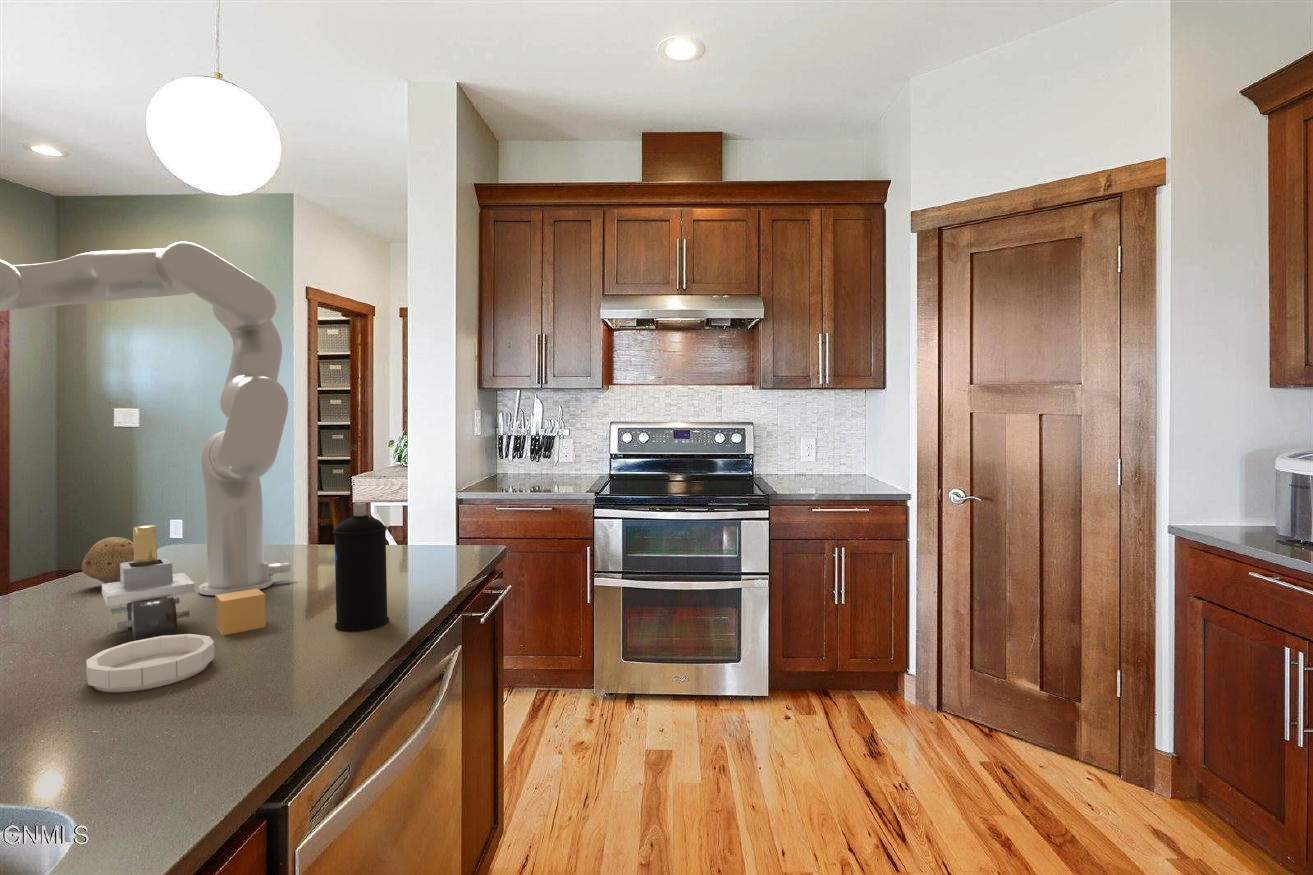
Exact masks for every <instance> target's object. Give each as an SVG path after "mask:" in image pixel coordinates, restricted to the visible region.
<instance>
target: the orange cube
mask: <svg viewBox="0 0 1313 875" xmlns="http://www.w3.org/2000/svg"><path fill="white" fill-rule="evenodd" d="M214 597H215V598H214V600H215V622H216V623H215V624H216V625H215V626H216V627H215V628H216V629H217V631H218V632H219V633H220V634H221V635H222V636H227V635H233V634H237V633H242V632H247V631H248V632H249V631H253V630H258V629H262V628H266V627H267V624H266V621H267V620H266V594H265V593H264V592H262V590H261V589H260V590H259V589H251V590H244V591H238V592H232V593H226V594H219V595H215V596H214Z"/></svg>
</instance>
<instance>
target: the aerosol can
mask: <svg viewBox="0 0 1313 875" xmlns="http://www.w3.org/2000/svg"><path fill="white" fill-rule="evenodd" d="M352 507H353V509H352V510H353V515H352V516H351V517H349V518H346V519H345V520H343V521H340V523H339V524H338V525H337V526H336V528H334V529H333V530H332V534H333V535H334V536H333V537H334V566H335V575H334V576H335V612H336V614H335V617H336V619H335V620H336V622H335V624H334V628H335V629H336V630H338V631H342V632H363V631H364V632H365V631H370V630H375V629H377V628H378V629H379V628H381V627H382V626H385V625H387V624H388V623H389V621H390V617H389V616H388V588H387V587H388V585H387V583H388V582H387V544H386V543H387V537H386V532H387V530H388V526H386V525H384V523H383V522H382V521H381V520H379V519H378V518H376V517H372V516H369V515H367V503H366V502H356V503H355V502H354V503H353V504H352Z"/></svg>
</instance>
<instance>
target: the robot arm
mask: <svg viewBox="0 0 1313 875" xmlns="http://www.w3.org/2000/svg"><path fill="white" fill-rule="evenodd" d="M189 294H194V295H196V296H197V297H199V298H200V299H202V300H204V301H205V302H207V303H208V304H210V305H212V311H213V315H214V317H215V319H216V320H217V321H218V322H219V323H220V324H221V326H223V327H224V328H225V329H226V331H228V333H229V335H230V337H231V340H232V345H233V348H232V354H231V359H230V364H229V368H228V372H227V376H226V380H225V383H224V386H223V388H222V391H221V394H220V400H219V402H220V403H219V404H220V406H219V407H220V409H221V411H222V413H223V414H224V416H225V417H226V418H227V422H226V426H225V429H224V430H221V431H219V432H217V433H214V434H213V435H211V436H210V437H209V438H208V440H207V441H206V442H205V443H204V446H202V450H201V457H200V461H201V462H200V463H201V471H202V478H203V483H204V495H205V524H206V526H205V528H206V533H205V534H206V558H207V559H206V561H207V566H206V567H207V581H206V582H203V583H202V584H200V585H198V593H199V594H201V595H204V596H212V597H213V596H214V597H215V595H219V594H226V593H232V592H238V591H244V590H251V589H259V590H260V591H261V590H263V589H266V588H269V587H270V586H272V585H273V583H274V578H273V577H272V576H274V574H285V573H289V572H291V563H290V562H284V563H283V562H282V563H280V562H278V563H277V562H276V563H269V562H267V561H265V560H264V559H265V558H264V556H265V554H264V527H263V525H264V524H263V523H264V522H263V521H264V517H263V493H262V485H261V484H262V483H261V479H260V478H261V477H263V476H265V475H266V474H267V473H268V472H270V470H271V468H272V467H273V465H274V464H275V461H276V458H277V456H278V451H279V448H280V444H281V442H282V441H281V440H282V436H283V432H284V428H285V425H286V421H287V420H286V419H287V416H288V413H289V412H288V410H289V399H288V395H287V392H286V390H285V388H284V387H283V385H281V384H280V382H278V376H279V374H280V367H281V361H282V357H283V355H282V354H283V346H282V340H281V337H280V334H279V331H278V330H277V328H276V325H275V324H274V323H273V321H272V319H273V317H274V316H275V314H276V310H277V301H276V299H275V296H274V294H273V293H272V291H271V290H270V289H269V288H268V287H267V286H266V285H264V284H263V283H262V282H261V281H258V280H257V279H256V278H255V277H252V276H251V275H249V274H248V273H246V272H244V271H242V270H241V269H239V268H238V267H236V266H234V264H232V263H230V262H228V261H227V260H225V259H224V258H222V257H220V256H218V255H217V254H215V253H214V252H212V251H211V250H209V249H207V248H205V247H203V246H201V245H198V244H196V243H194V242H189V241H178V242H174V243H172V244H170V245H168V246H167V247H165V248H152V249H151V248H147V249H130V250H127V249H125V250H122V249H121V250H100V251H99V250H96V251H95V250H94V251H90V252H84V253H80V254H76V255H73V256H70V257H67V258H64V259H60V260H55V261H48V262H42V263H41V262H40V263H32V264H30V263H28V264H13V265H12V264H10V263H9V262H7V261H6V260H3V259H0V312H5V311H6V312H7V311H15V310H16V311H17V310H29V309H31V310H32V309H40V308H51V307H52V308H53V307H62V306H69V305H78V304H82V305H83V304H97V303H102V302H103V303H105V302H111V301H112V302H114V301H124V300H125V301H126V300H132V299H133V300H135V299H144V298H146V299H147V298H159V297H171V296H181V295H182V296H183V295H189Z"/></svg>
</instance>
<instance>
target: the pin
mask: <svg viewBox="0 0 1313 875" xmlns="http://www.w3.org/2000/svg"><path fill="white" fill-rule="evenodd" d="M132 530H133V532H132V533H133V534H132V535H133V538H132V539H133V543H134V567H139V566H146V565H154V564H158V562H157V559H158V542H157V540H158V539H157V537H158V536H157V535H158V534H157V525H156V524H155V525H154V524H151V525H149V524H147V525H139V526H134V527H132Z"/></svg>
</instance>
